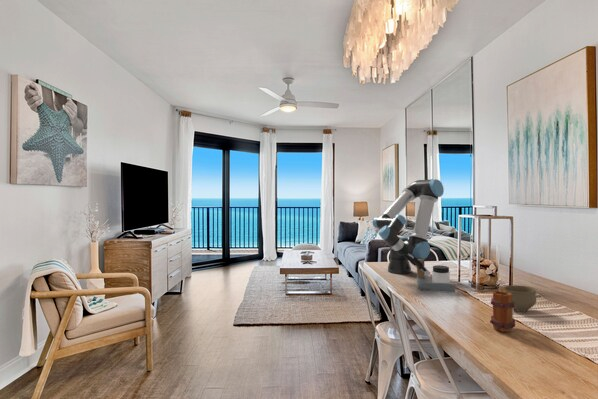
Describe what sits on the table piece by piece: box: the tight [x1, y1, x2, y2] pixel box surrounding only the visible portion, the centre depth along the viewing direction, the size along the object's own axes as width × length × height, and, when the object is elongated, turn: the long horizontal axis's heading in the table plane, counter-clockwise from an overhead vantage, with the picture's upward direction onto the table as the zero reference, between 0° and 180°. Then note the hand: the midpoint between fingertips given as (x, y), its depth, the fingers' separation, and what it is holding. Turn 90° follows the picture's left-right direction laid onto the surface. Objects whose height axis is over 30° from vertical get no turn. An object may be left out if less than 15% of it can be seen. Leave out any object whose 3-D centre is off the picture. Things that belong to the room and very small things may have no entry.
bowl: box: [504, 284, 537, 312], centre depth 147 cm, size 13×13×10 cm
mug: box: [489, 285, 516, 333], centre depth 128 cm, size 15×8×15 cm, turn 148°
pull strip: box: [415, 259, 456, 293], centre depth 189 cm, size 26×18×12 cm
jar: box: [431, 264, 451, 284], centre depth 182 cm, size 9×8×12 cm
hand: (426, 273), depth 202 cm, fingers closed on pull strip, 5 cm apart
